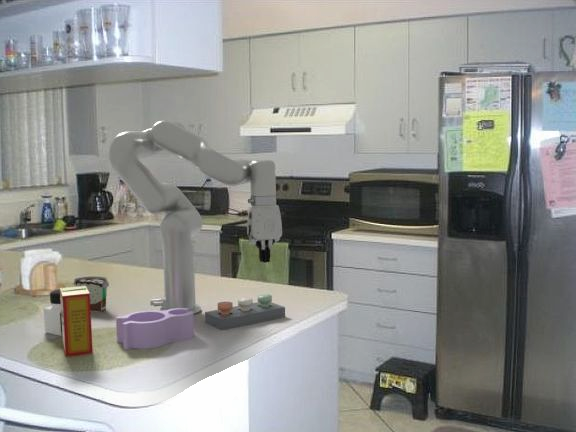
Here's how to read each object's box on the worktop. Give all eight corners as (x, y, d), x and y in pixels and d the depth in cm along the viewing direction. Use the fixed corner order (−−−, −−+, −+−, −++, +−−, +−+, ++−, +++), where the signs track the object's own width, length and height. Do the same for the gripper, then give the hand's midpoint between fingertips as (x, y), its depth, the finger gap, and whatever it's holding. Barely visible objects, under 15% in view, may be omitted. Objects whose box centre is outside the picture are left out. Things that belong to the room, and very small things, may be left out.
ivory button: (243, 317, 195) (242, 302, 194) (235, 314, 198) (235, 299, 198) (255, 314, 197) (255, 300, 197) (247, 311, 201) (247, 297, 200)
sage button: (262, 313, 199) (262, 298, 198) (254, 310, 202) (254, 295, 202) (274, 310, 201) (274, 296, 201) (266, 307, 205) (266, 293, 204)
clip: (183, 328, 190) (183, 305, 189) (200, 340, 179) (199, 315, 178) (114, 339, 180) (113, 315, 179) (127, 352, 169) (125, 326, 169)
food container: (118, 308, 212) (116, 277, 211) (105, 313, 207) (104, 281, 205) (88, 304, 217) (86, 274, 216) (75, 309, 212) (73, 278, 211)
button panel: (222, 329, 188) (222, 319, 187) (205, 322, 196) (204, 312, 195) (285, 316, 200) (285, 307, 200) (266, 309, 208) (266, 300, 208)
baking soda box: (92, 353, 169) (89, 291, 167) (65, 356, 166) (62, 294, 164) (88, 342, 177) (85, 284, 175) (62, 345, 175) (59, 286, 173)
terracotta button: (222, 321, 191) (222, 306, 190) (215, 318, 194) (214, 303, 194) (235, 318, 193) (235, 303, 193) (228, 315, 197) (227, 300, 196)
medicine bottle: (61, 336, 183) (59, 294, 181) (44, 332, 187) (42, 291, 185) (81, 330, 189) (79, 289, 187) (65, 326, 193) (62, 286, 191)
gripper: (249, 204, 190) (250, 266, 193) (291, 200, 199) (292, 260, 201) (235, 202, 196) (237, 263, 199) (276, 198, 205) (277, 257, 207)
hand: (264, 261), depth 200 cm, fingers closed
